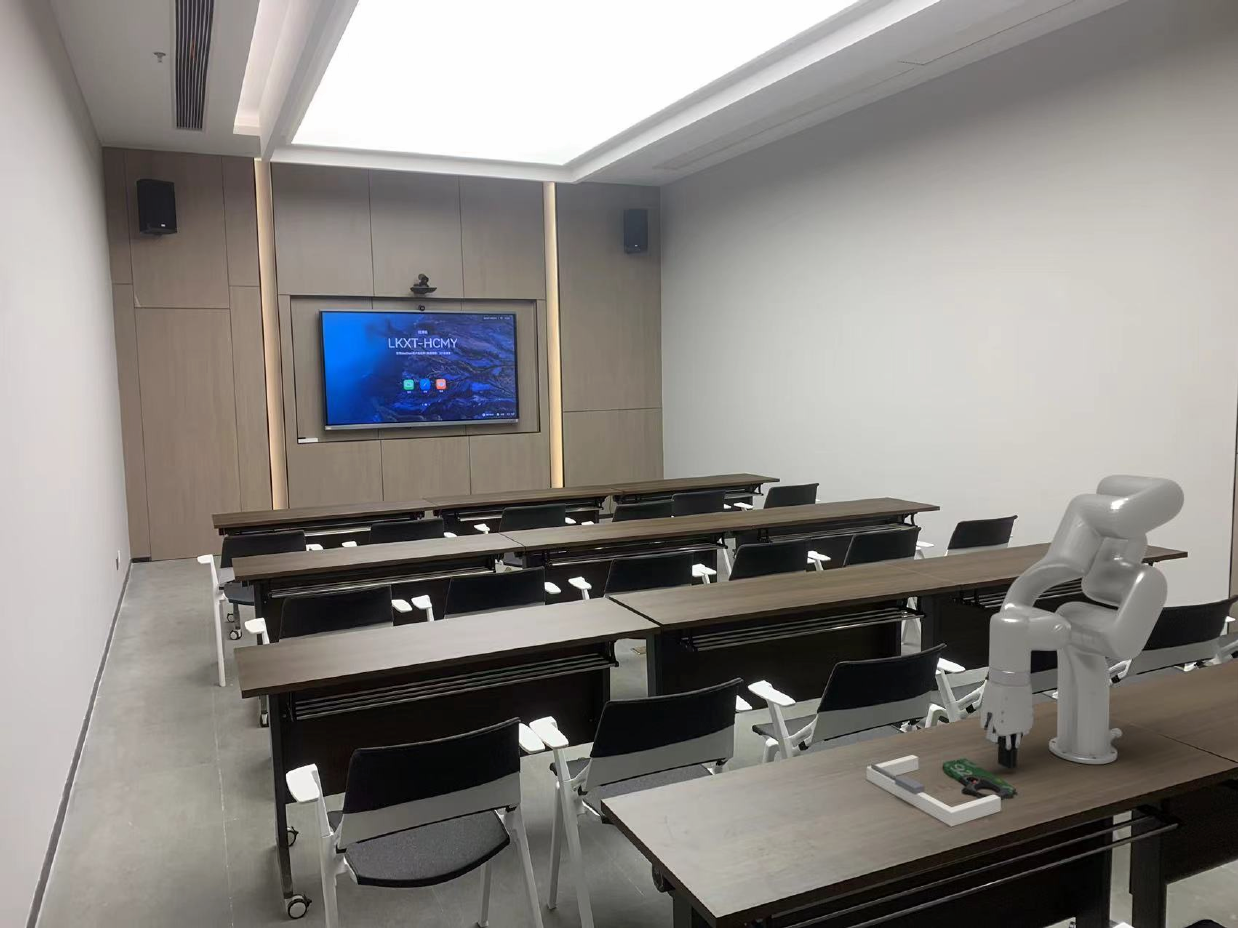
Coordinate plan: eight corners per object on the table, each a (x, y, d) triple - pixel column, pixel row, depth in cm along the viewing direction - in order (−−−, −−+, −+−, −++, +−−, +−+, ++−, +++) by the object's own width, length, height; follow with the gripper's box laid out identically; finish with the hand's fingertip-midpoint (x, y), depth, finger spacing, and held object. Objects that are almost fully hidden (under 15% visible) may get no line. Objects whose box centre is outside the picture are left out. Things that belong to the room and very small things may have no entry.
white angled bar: (913, 766, 182) (912, 749, 181) (1000, 810, 162) (1000, 791, 162) (865, 779, 176) (864, 761, 176) (949, 827, 157) (949, 806, 156)
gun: (926, 764, 180) (968, 757, 183) (926, 771, 180) (968, 764, 183) (978, 799, 165) (1024, 790, 167) (978, 806, 165) (1024, 798, 167)
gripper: (1020, 665, 183) (1018, 752, 184) (966, 675, 177) (964, 765, 178) (1051, 675, 176) (1049, 766, 178) (997, 686, 170) (995, 780, 171)
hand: (1007, 765), depth 178 cm, fingers closed
